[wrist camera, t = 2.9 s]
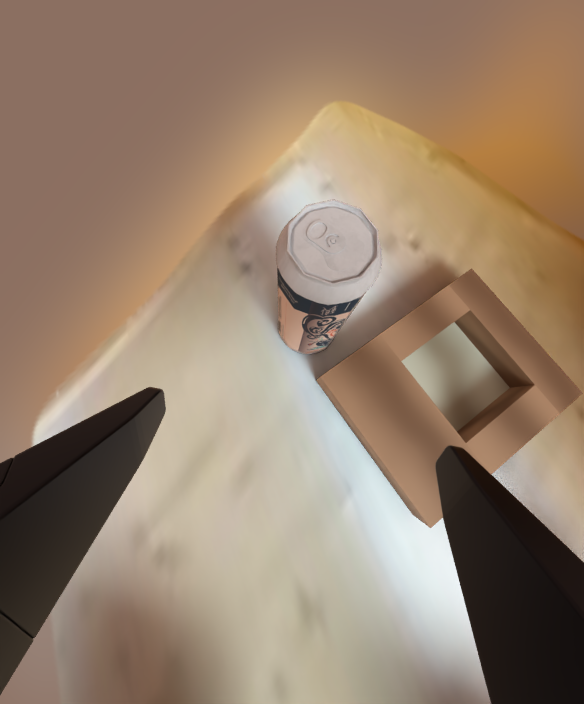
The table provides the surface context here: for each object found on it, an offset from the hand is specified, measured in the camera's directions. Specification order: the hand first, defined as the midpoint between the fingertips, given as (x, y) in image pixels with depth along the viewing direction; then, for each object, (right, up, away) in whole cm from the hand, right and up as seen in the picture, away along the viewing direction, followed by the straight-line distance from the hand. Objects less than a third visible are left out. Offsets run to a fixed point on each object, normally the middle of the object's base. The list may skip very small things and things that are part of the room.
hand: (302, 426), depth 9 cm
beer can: (+1, +4, +15) cm, 15 cm away
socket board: (+11, -1, +14) cm, 18 cm away
